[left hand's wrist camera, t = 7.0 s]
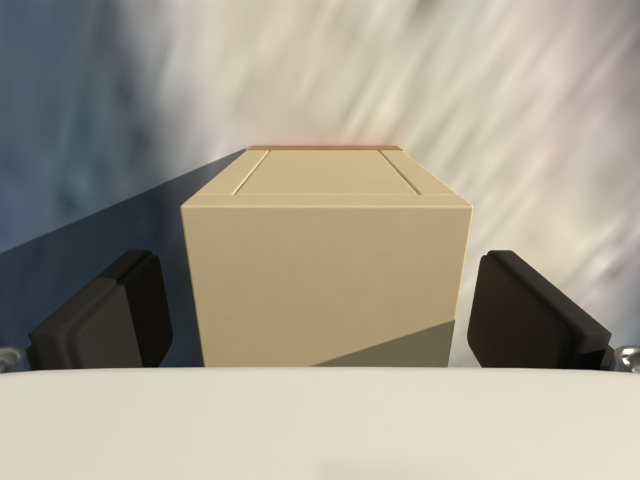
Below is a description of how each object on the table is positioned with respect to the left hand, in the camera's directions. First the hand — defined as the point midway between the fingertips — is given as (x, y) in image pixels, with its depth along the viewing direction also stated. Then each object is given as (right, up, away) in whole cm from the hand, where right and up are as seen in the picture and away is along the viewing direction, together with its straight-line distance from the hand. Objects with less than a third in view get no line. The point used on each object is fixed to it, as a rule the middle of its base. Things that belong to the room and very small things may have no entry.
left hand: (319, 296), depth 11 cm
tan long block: (0, -5, +8) cm, 9 cm away
